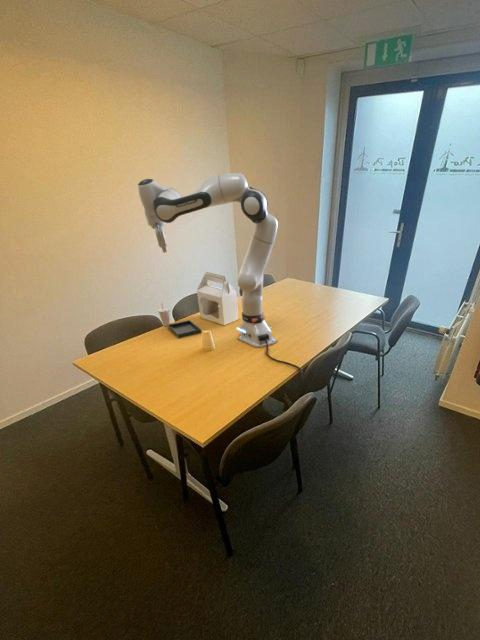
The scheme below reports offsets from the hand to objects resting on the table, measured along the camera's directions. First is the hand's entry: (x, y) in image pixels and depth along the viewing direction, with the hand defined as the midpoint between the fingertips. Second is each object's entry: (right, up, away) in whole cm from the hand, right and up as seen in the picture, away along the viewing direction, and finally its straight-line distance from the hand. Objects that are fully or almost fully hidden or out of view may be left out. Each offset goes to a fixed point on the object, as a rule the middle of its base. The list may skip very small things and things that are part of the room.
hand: (163, 247), depth 154 cm
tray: (+3, -39, +23) cm, 45 cm away
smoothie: (-11, -35, +29) cm, 47 cm away
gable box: (+19, -28, +41) cm, 53 cm away
